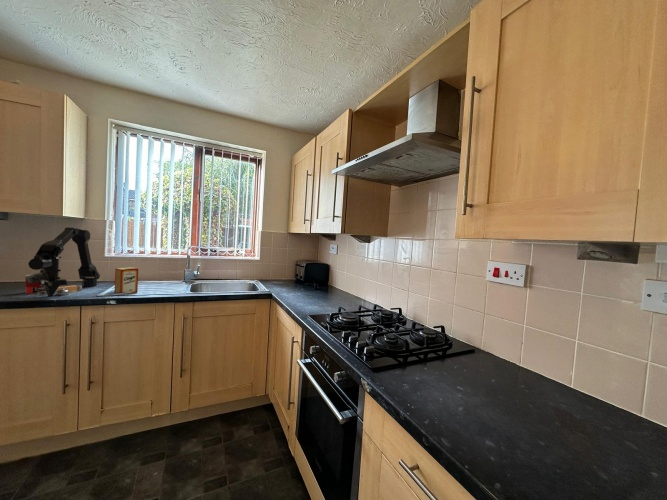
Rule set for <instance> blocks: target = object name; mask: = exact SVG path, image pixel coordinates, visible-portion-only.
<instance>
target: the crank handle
mask: <svg viewBox="0 0 667 500" xmlns="http://www.w3.org/2000/svg"><path fill="white" fill-rule="evenodd" d="M69 294H70V293H69V290H65V289H60V290H56V291H55V293H54V294H53V295H55V297H56V296H57V297H63V296H68V295H69ZM36 295H37V297H44V296H48V295H47V292H46V291H42V292H38V293H37V294H36Z"/></svg>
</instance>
